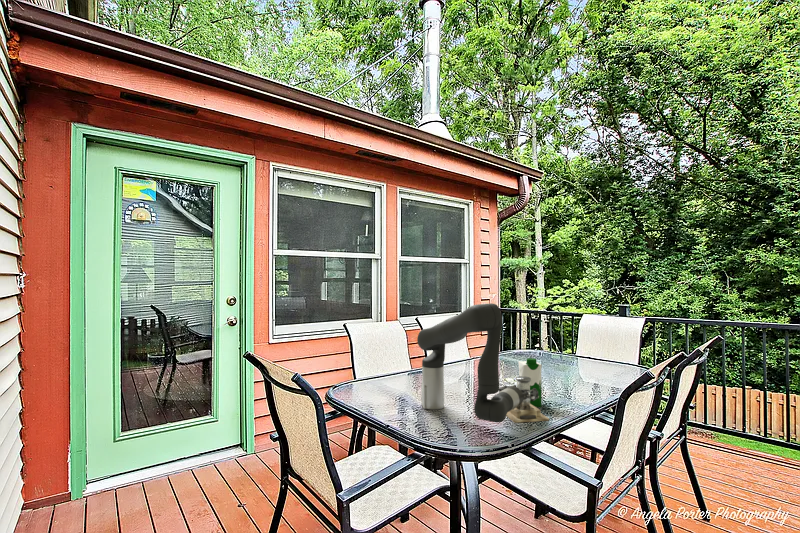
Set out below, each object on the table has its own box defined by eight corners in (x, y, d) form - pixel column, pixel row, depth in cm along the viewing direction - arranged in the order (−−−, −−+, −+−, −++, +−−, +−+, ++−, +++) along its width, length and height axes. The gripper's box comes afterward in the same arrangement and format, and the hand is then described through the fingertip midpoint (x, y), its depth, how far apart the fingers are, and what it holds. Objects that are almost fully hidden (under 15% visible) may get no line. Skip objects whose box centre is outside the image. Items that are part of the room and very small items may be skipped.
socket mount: (514, 422, 155) (514, 413, 155) (500, 410, 169) (500, 402, 169) (549, 420, 157) (548, 411, 157) (532, 409, 171) (532, 401, 171)
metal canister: (519, 416, 160) (519, 379, 160) (513, 411, 166) (513, 376, 166) (533, 415, 161) (533, 379, 161) (527, 410, 166) (527, 376, 167)
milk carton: (523, 408, 173) (523, 360, 173) (517, 401, 182) (516, 356, 182) (544, 407, 173) (543, 359, 174) (536, 401, 182) (535, 355, 183)
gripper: (528, 391, 148) (542, 382, 161) (491, 385, 157) (508, 377, 170) (528, 412, 148) (543, 401, 161) (491, 405, 156) (508, 395, 169)
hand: (525, 389), depth 165 cm, fingers open, 7 cm apart
